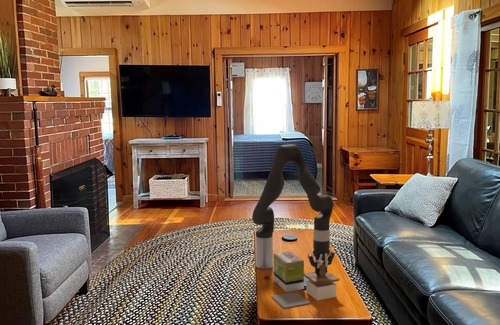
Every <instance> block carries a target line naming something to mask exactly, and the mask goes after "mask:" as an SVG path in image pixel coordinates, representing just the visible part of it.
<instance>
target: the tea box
mask: <svg viewBox="0 0 500 325" xmlns="http://www.w3.org/2000/svg"><path fill="white" fill-rule="evenodd" d="M303 274H305V260H304V259H302V258H301V257H299V255H296V254H295V253H293V252H292V251H291V250H290V251H284V252H278V253H277V252H276V253H273V281H274V283H276V284H277V285H278V286H279V287H280V288H281V289H282V290H283V291H284V292H285V293H291V292H297V291H300V290H301V291H302V290H304V289H305V276H303Z"/></svg>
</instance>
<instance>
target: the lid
mask: <svg viewBox="0 0 500 325" xmlns="http://www.w3.org/2000/svg"><path fill="white" fill-rule="evenodd" d="M319 268H320V275H319V276H318V275H316V274H315V272H314V271H313V272H304V274H303V276H304V278H306V280H310V281H311V282H313V283H314V284H316V285H320V284H325V283H331V282H333V283H336V282H339V281H340V278H339V277H338V276H335V275H334V274H332V273H330V272H329V271H328V270H327V273H326V264H324V263H323V261H321V263H320V267H319Z"/></svg>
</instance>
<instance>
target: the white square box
mask: <svg viewBox="0 0 500 325" xmlns="http://www.w3.org/2000/svg"><path fill="white" fill-rule="evenodd" d="M306 293H307V294H308V295H309V296H310V297H312V298H314V300H316V301H323V300H326V299H332V298H337V283H336V282H331V283H325V284H320V285H316V284H314V283H313V282H311V281H310V280H309V279H306Z"/></svg>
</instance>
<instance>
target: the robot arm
mask: <svg viewBox="0 0 500 325" xmlns="http://www.w3.org/2000/svg"><path fill="white" fill-rule="evenodd" d="M287 164H294V165H295V166H296V167H297V170H298V181H299V185H300V186H301V188H302V189H303V190H304V191H303V192H305V193H306V195H307V199H308V203H309V206H310V208H311V210H313V211H314V212H317V213H319V214H318V215H315V216H314V218H313V232H312V233H313V236H312V237H313V238H312V241H313V242H312V247H313V251H312V253H311V254H307V258H308V260H309V264H310V265H311V266H312V267H313V268H314V270H315V274H316V275H318V276H319V275H320V268H319V267H320V263H321V262H323V263H324V264H326V273H327V271H328V266H331V265H332V262H333V261H334V257H335V255H336V252H333V251H331V250H330V248H331V246H330V245H331V241H330V240H331V233H330V221H331V217H332V213H333V209H334V200H333V197H331V195H329V194H323V195H318V194H319V193H320V192H321V186H320V184H319V183H318V182H317V180H316V179H315V177H314V175H313V174H312V172H311V171H310V168H309V166H308V164H307V162H306V160H305V158H304V155H303V153H302V151H301V149H300V148H299V146H298V145H296V144H294V143H293V144H291V143H289V144H282V145H280V146H278V147H277V149H276V152H275V154H274V158H273V162H272V165H271V169H270V172H269V175H268V178H267V179H266V182H265V185H264V186H263V187H264V188H263V190H262V193H261V195H260V197H259V199H258V202H257V203H256V205H255V207H254V209H253V211H252V218H251V219H252V222H253V223H254V224H255V225H256V226H261V227H260V228H258V229H257V230H256V231H255V266H256V267H255V268H258V269H259V270H261V269H262V270H268V269H272V268H274V258H273V257H274V252H273V251H274V247H273V245H274V241H273V240H274V238H273V237H274V236H273V234H274V231H275V230H274V228H275V227H274V226H275V213H274V212H275V211H274V210H273V208H272V206H270V205H272V204H273V203H274V202H275V201H276V200H277V199H278V198H279V197H280V196H281V194H282V192H283V189H284V187H285V180H284V179H285V178H284V176H283V171H284V168H285V166H286V165H287Z"/></svg>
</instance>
